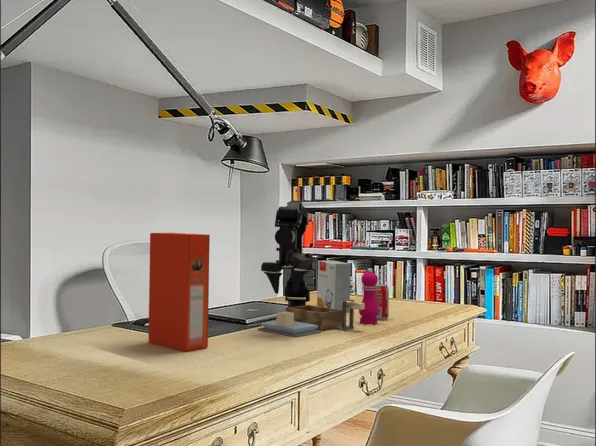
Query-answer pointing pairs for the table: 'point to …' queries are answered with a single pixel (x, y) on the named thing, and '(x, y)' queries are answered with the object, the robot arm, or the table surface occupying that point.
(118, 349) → the table surface
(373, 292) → the pepper mill
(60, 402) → the table surface
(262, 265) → the robot arm
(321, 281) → the hard drive box
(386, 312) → the soda can
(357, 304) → the tan wooden bar
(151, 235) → the file binder
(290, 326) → the lid
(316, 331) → the felt pad
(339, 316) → the open wooden box
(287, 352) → the table surface
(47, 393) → the table surface
